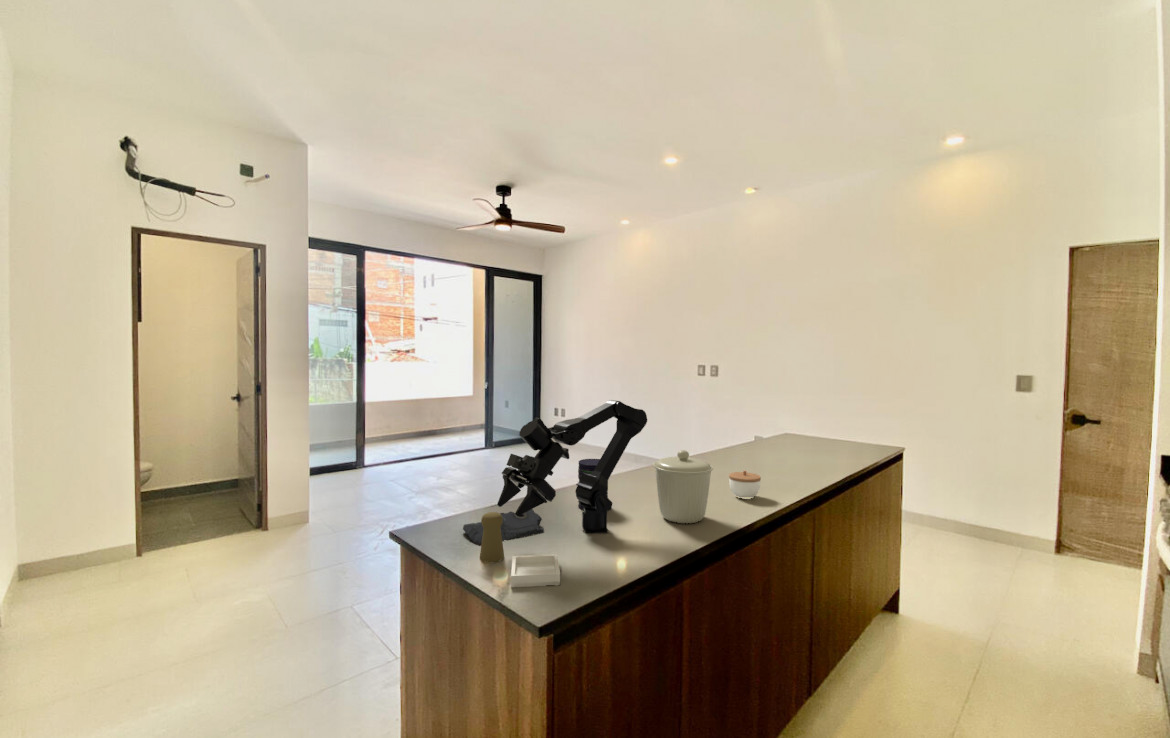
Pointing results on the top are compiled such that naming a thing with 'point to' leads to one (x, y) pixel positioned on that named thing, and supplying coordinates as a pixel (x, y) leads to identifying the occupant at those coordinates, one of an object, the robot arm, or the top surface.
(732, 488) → the lidded jar
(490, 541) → the olive brown pawn
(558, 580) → the tray
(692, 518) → the canister
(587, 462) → the storage jar
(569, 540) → the top surface
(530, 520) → the dark slate chunk
